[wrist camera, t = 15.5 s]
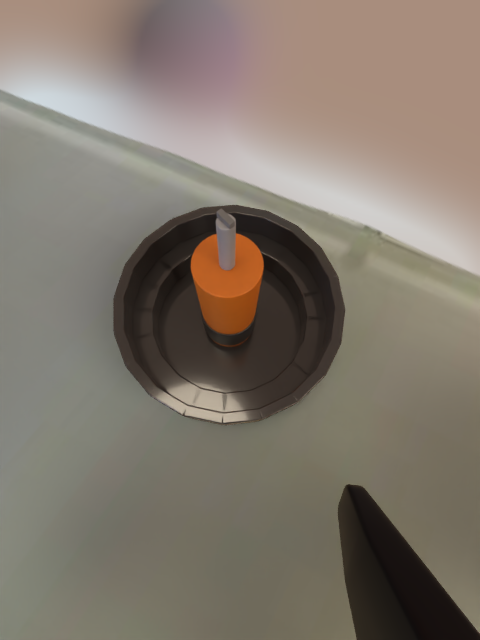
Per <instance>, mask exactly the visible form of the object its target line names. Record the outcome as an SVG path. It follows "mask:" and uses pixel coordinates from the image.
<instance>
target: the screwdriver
mask: <svg viewBox="0 0 480 640" xmlns="http://www.w3.org/2000/svg"><path fill="white" fill-rule="evenodd" d="M217 217H218V218H217V219H216V231H217V234H214V235H212V236H210V237H208V238H206V239H205V240H203V241H202V242H201V243H200V244H199V245H198V246H197V248H196V249H195V251H194V253H193V255H192V259H191V272H192V276H193V280H194V284H195V288H196V291H197V295H198V299H199V303H200V312H201V317H202V321H203V324H204V328H205V330H206V332H207V334H208V335H209V337H210V338H211V339H212V340H213V341H214V342H215V343H217V344H219V345H221V346H225V347H233V346H237V345H240V344H242V343H243V342H244V341H246V340H247V339H248V337H249V336H250V335H251V333H252V331H253V329H254V325H255V321H256V316H257V301H258V296H259V291H260V285H261V280H262V275H263V269H264V262H263V257H262V254H261V252H260V250H259V248H258V247H257V246H256V245H255V244H254V242H252V241H251V240H250V239H248V238H247V237H245V236H243V235H240V234H237V233H236V220H235V218H234V217H233V216H232V215H230V214H227V213H226V212H225V211H224V210H223V209H222V208H221V209H220V210H218V211H217Z"/></svg>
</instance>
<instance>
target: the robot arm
mask: <svg viewBox="0 0 480 640" xmlns="http://www.w3.org/2000/svg"><path fill="white" fill-rule="evenodd" d="M338 520H339V529H340V539H341V548H342V557H343V567H344V575H345V583H346V588H347V594H348V598H349V603H350V608H351V613H352V618H353V623H354V627H355V632H356V637H357V640H480V634H479V632H478V631H477V630H476V629H475V627H474V626H473V625H472V624H471V622H470V621H469V620H468V619H467V617H466V616H465V615H464V613H463V612H462V611H461V610H460V608H459V607H458V606H457V605H456V603H455V602H454V601H453V600H452V598H451V597H450V596H449V595H448V593H447V592H446V591H445V589H444V588H443V587H442V586H441V584H440V583H439V582H438V581H437V579H436V578H435V577H434V576H433V574H432V573H431V572H430V570H429V569H428V568H427V567H426V565H425V564H424V563H423V562H422V560H421V559H420V558H419V557H418V555H417V554H416V553H415V552H414V550H413V549H412V548H411V546H410V545H409V544H408V543H407V541H406V540H405V539H404V538H403V536H402V535H401V534H400V533H399V531H398V530H397V529H396V527H395V526H394V525H393V524H392V522H391V521H390V520H389V519H388V517H387V516H386V515H385V514H384V512H383V511H382V510H381V508H380V507H379V506H378V505H377V503H376V502H375V501H374V500H373V498H372V497H371V496H370V495H369V493H368V492H367V491H366V490H365V488H363V487H362V486H359V485H350V484H348V485H346V486H345V488H344V490H343V493H342V496H341V499H340V502H339V505H338Z"/></svg>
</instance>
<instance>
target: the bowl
mask: <svg viewBox="0 0 480 640" xmlns="http://www.w3.org/2000/svg"><path fill="white" fill-rule="evenodd" d="M221 208H222V209H223V210H224V211H225V212H226V213H227V214H230V215H232V216H233V217H234V218H235V220H236V233H237V234H240V235H243V236H245V237H247V238H248V239H250V240H251V241H252V242H254V244H255V245H256V246H257V247H258V248H259V250H260V252H261V254H262V257H263V262H264V269H263V275H262V280H261V285H260V291H259V296H258V301H257V316H256V321H255V325H254V329H253V331H252V333H251V335H250V336H249V337H248V339H247V340H246V341H244V342H243V343H242V344H240V345H237V346H233V347H225V346H221V345H219V344H217V343H215V342H214V341H213V340H212V339H211V338H210V337H209V335H208V334H207V332H206V330H205V328H204V324H203V321H202V317H201V312H200V303H199V299H198V295H197V291H196V288H195V284H194V280H193V276H192V272H191V259H192V255H193V253H194V251H195V249H196V248H197V246H198V245H199V244H200V243H201V242H202V241H203V240H205V239H206V238H208V237H210V236H212V235H214V234H217V231H216V219H217V218H218V217H217V211H218V210H220V209H221ZM344 315H345V306H344V302H343V297H342V293H341V288H340V283H339V279H338V276H337V274H336V272H335V270H334V268H333V267H332V265H331V263H330V262H329V260H328V258H327V257H326V255H325V253H324V251H323V250H322V248H321V247H320V246H319V245H318V244H317V243H316V242H315V241H314V240H313V239H311V238H310V237H309V236H308V235H307V234H306V233H305V232H304V231H303V230H302V229H301V228H299V227H298V226H297V225H295V224H293V223H291V222H289V221H287V220H285V219H283V218H281V217H279V216H277V215H275V214H273V213H271V212H269V211H268V212H267V211H266V210H260V209H255V208H249V207H244V206H239V205H228V206H216V207H204V208H200V209H197V210H195V211H192V212H189V213H186V214H184V215H181V216H178V217H176V218H173V219H172V220H169V221H168V222H167V223H165V224H164V225H163V226H161V227H160V228H159V229H157V230H156V231H154V232H153V233H152V234H150V235H149V236H148V237H146V238H145V239H144V240H143V241H142V243H141V244H140V245H139V247H138V248H137V249H136V251H135V252H134V253H133V255H132V256H131V257H130V259H129V260H128V261H127V263H126V264H125V266H124V269H123V272H122V275H121V278H120V280H119V283H118V286H117V289H116V292H115V295H114V335H115V338H116V341H117V344H118V346H119V349H120V352H121V355H122V358H123V360H124V363H125V366H126V367H127V369H128V370H129V371H130V372H131V374H132V375H133V376H134V377H135V378H136V380H137V381H138V382H139V383H140V385H141V386H142V387H143V388H144V389H145V391H146V392H147V393H148V394H149V395H150V396H151V397H153V398H154V399H156V400H158V401H159V402H161V403H163V404H164V405H166V406H168V407H169V408H171V409H172V410H174V411H176V412H177V413H179V414H181V415H183V416H185V417H189V418H192V419H196V420H201V421H206V422H210V423H215V424H220V425H233V424H242V423H250V422H257V421H260V420H263V419H265V418H267V417H269V416H271V415H273V414H276V413H278V412H280V411H282V410H284V409H286V408H288V407H290V406H292V405H294V404H297V403H298V402H299V401H300V400H301V399H302V398H303V397H304V396H305V395H306V394H307V393H309V392H310V391H311V390H312V389H313V388H314V387H315V386H316V385H317V384H318V383H319V382H320V381H321V380H322V379H323V378H324V376H325V375H326V373H327V371H328V369H329V367H330V365H331V363H332V361H333V359H334V357H335V355H336V353H337V351H338V349H339V347H340V345H341V341H342V332H343V324H344Z"/></svg>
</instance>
